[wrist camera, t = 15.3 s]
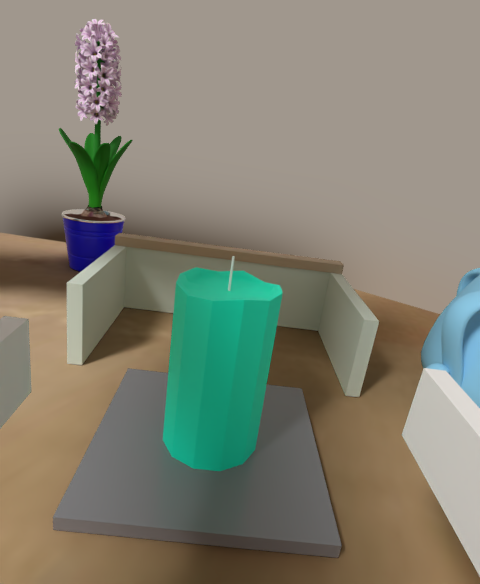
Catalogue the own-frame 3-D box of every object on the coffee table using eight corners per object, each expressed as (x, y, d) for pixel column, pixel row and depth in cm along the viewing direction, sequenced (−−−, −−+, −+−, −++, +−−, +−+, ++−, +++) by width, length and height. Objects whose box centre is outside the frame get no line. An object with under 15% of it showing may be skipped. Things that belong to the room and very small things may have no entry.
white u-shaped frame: (67, 363, 34) (66, 270, 31) (116, 301, 47) (119, 232, 45) (359, 397, 35) (382, 309, 32) (326, 326, 49) (340, 261, 46)
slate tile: (53, 529, 20) (53, 517, 20) (127, 377, 33) (128, 368, 33) (338, 557, 21) (341, 545, 20) (300, 396, 34) (301, 388, 34)
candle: (268, 466, 25) (305, 276, 21) (167, 476, 23) (186, 270, 19) (242, 406, 30) (267, 245, 26) (158, 410, 28) (172, 239, 24)
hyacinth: (122, 255, 65) (130, 38, 55) (129, 276, 56) (140, 22, 46) (61, 253, 62) (59, 23, 52) (58, 275, 53) (55, 2, 43)
